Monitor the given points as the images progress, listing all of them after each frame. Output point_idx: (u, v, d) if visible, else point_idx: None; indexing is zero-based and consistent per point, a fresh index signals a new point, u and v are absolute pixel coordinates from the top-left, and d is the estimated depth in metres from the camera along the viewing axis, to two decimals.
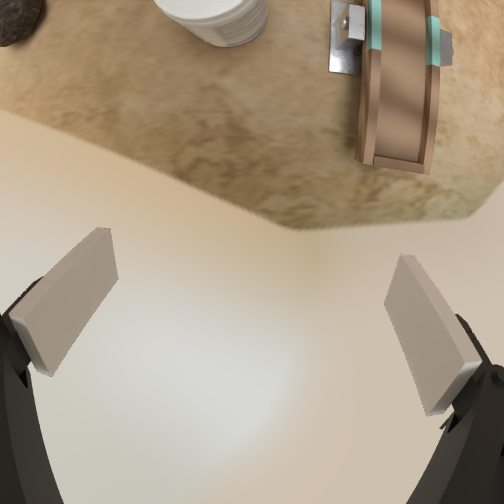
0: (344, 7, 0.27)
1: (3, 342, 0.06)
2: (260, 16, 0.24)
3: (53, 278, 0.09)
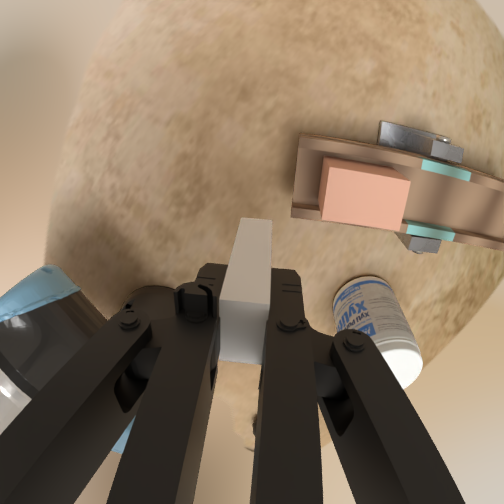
0: None
1: (211, 341, 0.08)
2: (396, 306, 0.36)
3: (243, 262, 0.11)
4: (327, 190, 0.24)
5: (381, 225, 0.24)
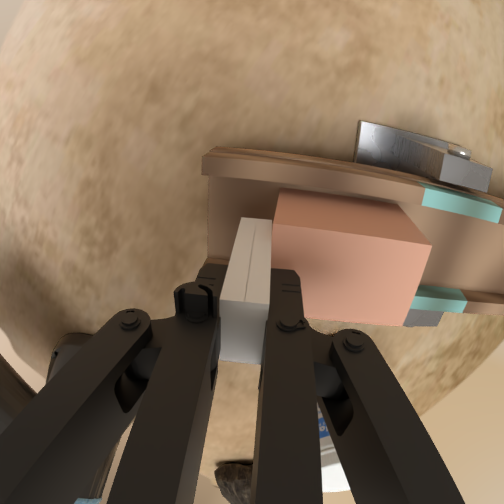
0: None
1: (211, 341, 0.08)
2: None
3: (243, 262, 0.11)
4: (271, 265, 0.13)
5: (371, 319, 0.14)
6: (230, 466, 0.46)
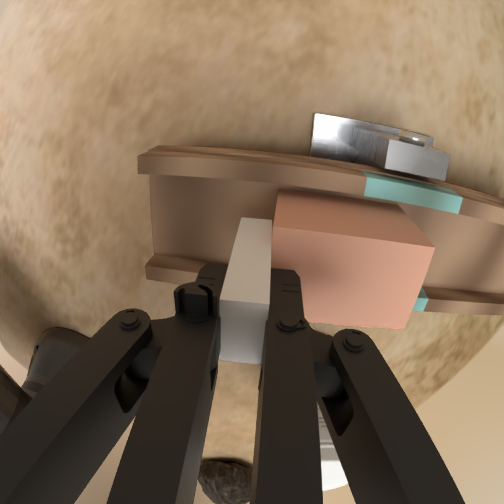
0: None
1: (211, 341, 0.08)
2: None
3: (243, 262, 0.11)
4: None
5: (373, 323, 0.14)
6: (211, 464, 0.46)
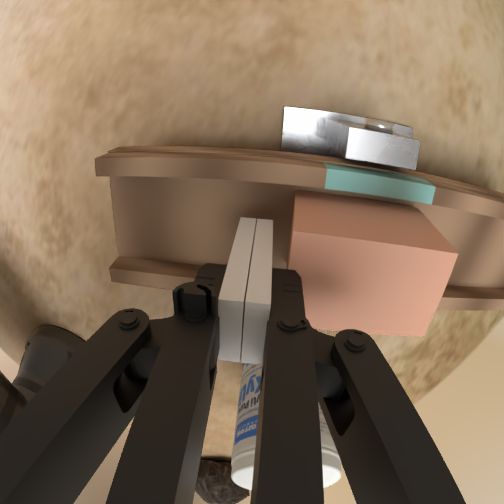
0: None
1: (210, 341, 0.08)
2: None
3: (242, 262, 0.11)
4: None
5: (393, 331, 0.13)
6: (202, 462, 0.46)
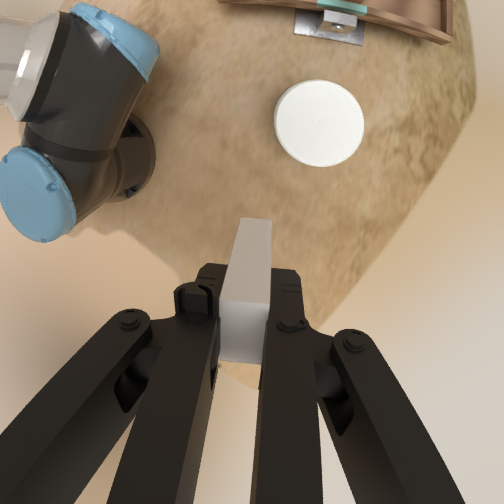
0: (300, 24, 0.34)
1: (211, 341, 0.08)
2: None
3: (243, 262, 0.11)
4: None
5: None
6: None
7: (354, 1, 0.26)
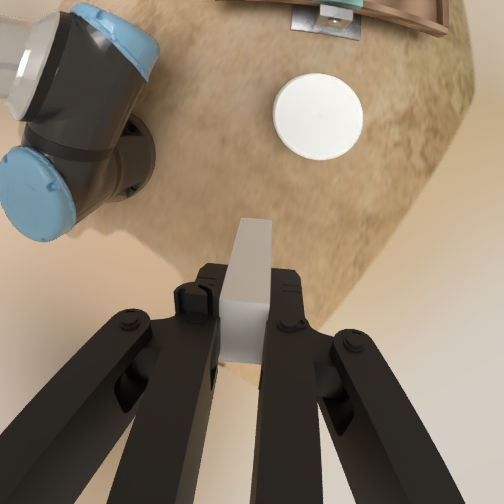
0: (297, 20, 0.34)
1: (211, 341, 0.08)
2: None
3: (243, 263, 0.11)
4: None
5: None
6: None
7: None
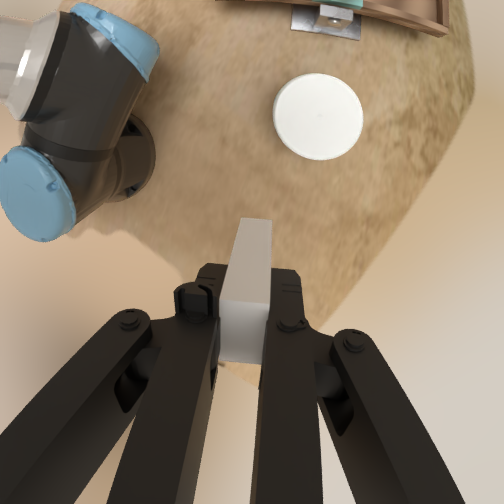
0: (297, 20, 0.34)
1: (211, 341, 0.08)
2: None
3: (243, 263, 0.11)
4: None
5: None
6: None
7: None
